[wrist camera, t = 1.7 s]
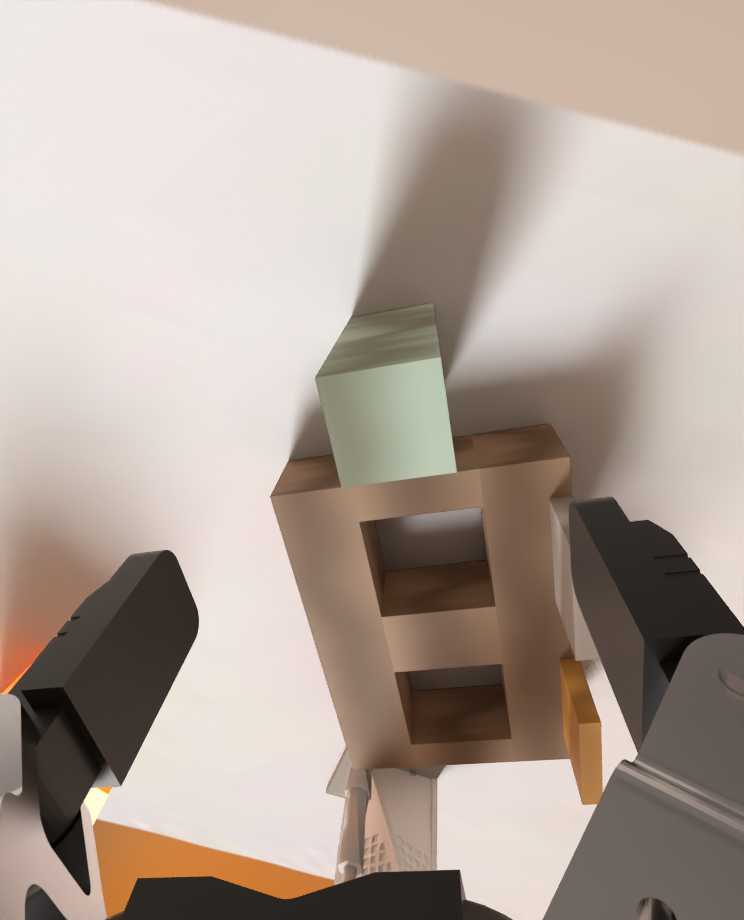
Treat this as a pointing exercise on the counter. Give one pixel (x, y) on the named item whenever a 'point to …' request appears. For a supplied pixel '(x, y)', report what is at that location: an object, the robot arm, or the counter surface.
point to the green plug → (387, 399)
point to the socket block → (450, 610)
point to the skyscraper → (385, 819)
